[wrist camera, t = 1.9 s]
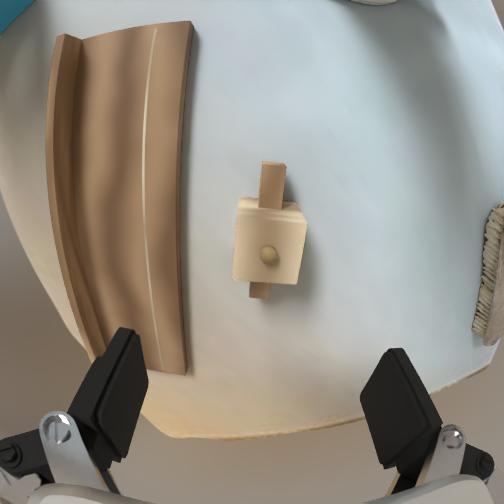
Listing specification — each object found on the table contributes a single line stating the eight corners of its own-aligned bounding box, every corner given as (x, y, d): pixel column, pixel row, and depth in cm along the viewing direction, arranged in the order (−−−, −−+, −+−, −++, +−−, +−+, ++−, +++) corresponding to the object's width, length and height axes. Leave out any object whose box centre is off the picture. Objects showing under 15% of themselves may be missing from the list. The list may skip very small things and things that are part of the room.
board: (193, 26, 17) (181, 7, 13) (187, 367, 34) (181, 392, 30) (82, 45, 17) (57, 36, 13) (108, 352, 33) (96, 374, 29)
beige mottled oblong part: (495, 320, 32) (509, 336, 28) (467, 338, 34) (481, 357, 29) (509, 193, 23) (533, 205, 18) (478, 208, 24) (504, 222, 20)
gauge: (300, 164, 23) (317, 176, 17) (282, 282, 28) (290, 323, 22) (243, 158, 23) (239, 168, 17) (234, 278, 28) (229, 320, 22)
